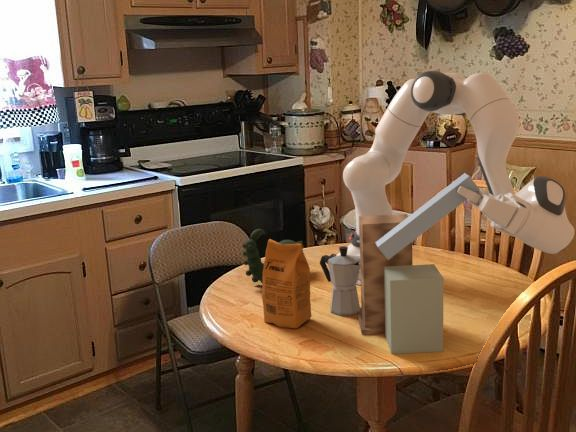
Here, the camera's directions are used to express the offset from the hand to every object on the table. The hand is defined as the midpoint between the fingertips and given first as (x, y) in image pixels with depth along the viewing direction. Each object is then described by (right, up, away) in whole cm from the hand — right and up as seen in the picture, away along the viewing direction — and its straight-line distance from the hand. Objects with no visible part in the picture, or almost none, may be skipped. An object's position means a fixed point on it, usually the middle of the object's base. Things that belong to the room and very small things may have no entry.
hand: (455, 186), depth 149 cm
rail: (-5, -8, +2) cm, 10 cm away
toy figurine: (-41, -27, +58) cm, 76 cm away
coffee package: (-38, -35, +25) cm, 57 cm away
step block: (-8, -37, +8) cm, 39 cm away
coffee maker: (-23, -32, +31) cm, 51 cm away
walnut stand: (-13, -35, +19) cm, 42 cm away
